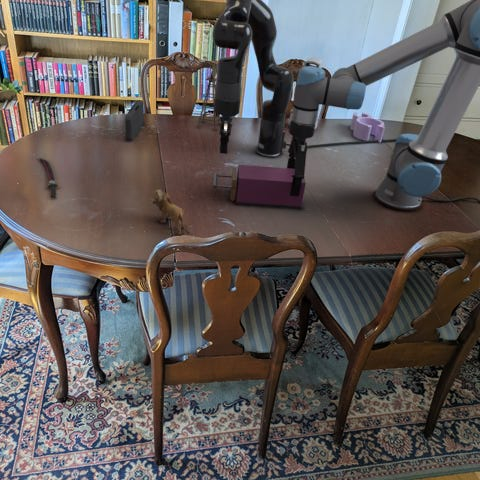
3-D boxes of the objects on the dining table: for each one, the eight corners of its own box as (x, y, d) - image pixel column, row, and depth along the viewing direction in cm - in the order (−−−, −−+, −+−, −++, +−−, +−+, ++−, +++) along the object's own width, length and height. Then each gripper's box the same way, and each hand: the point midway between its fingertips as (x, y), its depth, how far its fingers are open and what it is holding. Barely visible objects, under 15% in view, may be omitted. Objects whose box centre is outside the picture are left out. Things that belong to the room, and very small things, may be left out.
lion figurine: (148, 218, 136) (147, 190, 131) (161, 212, 139) (161, 185, 134) (183, 238, 128) (184, 210, 123) (197, 232, 132) (198, 204, 127)
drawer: (211, 199, 147) (213, 178, 143) (212, 186, 155) (213, 166, 151) (291, 204, 149) (295, 184, 145) (288, 191, 157) (291, 172, 153)
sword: (61, 197, 141) (61, 193, 140) (50, 198, 139) (50, 194, 139) (49, 160, 164) (48, 156, 163) (39, 160, 163) (39, 157, 162)
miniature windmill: (215, 130, 202) (220, 57, 186) (196, 127, 203) (199, 55, 187) (220, 124, 209) (225, 53, 193) (202, 121, 210) (205, 51, 194)
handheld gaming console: (137, 122, 202) (137, 99, 196) (144, 122, 202) (143, 99, 196) (124, 141, 182) (123, 116, 177) (131, 141, 182) (131, 116, 177)
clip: (343, 126, 223) (346, 112, 219) (367, 127, 225) (371, 113, 221) (360, 142, 206) (364, 127, 202) (386, 142, 209) (390, 127, 205)
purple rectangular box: (236, 204, 148) (238, 178, 143) (235, 189, 156) (238, 164, 151) (301, 209, 149) (305, 183, 144) (297, 194, 158) (301, 169, 153)
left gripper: (215, 89, 140) (211, 143, 149) (214, 102, 128) (210, 160, 138) (240, 91, 140) (235, 145, 149) (241, 104, 129) (235, 162, 138)
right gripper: (286, 107, 149) (277, 168, 161) (295, 135, 128) (284, 203, 140) (309, 110, 150) (298, 170, 161) (322, 138, 129) (309, 205, 140)
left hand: (223, 152), depth 144 cm, fingers closed
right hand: (291, 185), depth 150 cm, fingers open, 13 cm apart
